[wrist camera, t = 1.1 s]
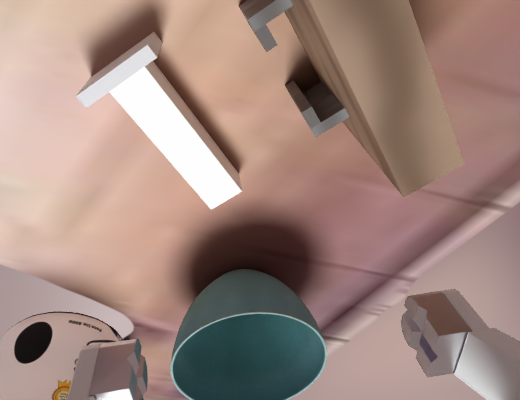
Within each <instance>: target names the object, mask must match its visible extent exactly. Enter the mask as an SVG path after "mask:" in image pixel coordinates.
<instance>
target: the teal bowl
mask: <svg viewBox="0 0 520 400" xmlns="http://www.w3.org/2000/svg"><path fill="white" fill-rule="evenodd" d="M326 360H327V348H326V344H325V341H324V338H323V336H322V334H321V331H320V329H319V327H318V325H317V323H316V321H315V319H314V318H313V316H312V315H311V313H310V311H309V310H308V308H307V307H306V306H305V304H304V303H303V302H302V301H301V299H300V298H299V297H298V296H297V295H296V294H295V293H294V292H293V291H292V290H291V289H290V288H289V287H288V286H286V285H285V284H284V283H282V282H281V281H279V280H278V279H276V278H274V277H272V276H270V275H268V274H266V273H263V272H260V271H257V270H252V269H238V270H233V271H230V272H228V273H225V274H223V275H222V276H220V277H219V278H217V279H216V280H214V281H213V282H212V283H210V284H209V285H208V286H207V287H206V288H205V289H204V290H203V291H202V292H201V293H200V294H199V295H198V296H197V298H196V299H195V300H194V302H193V303H192V305H191V306H190V308H189V310H188V311H187V313H186V315H185V317H184V319H183V321H182V324H181V326H180V329H179V331H178V334H177V337H176V341H175V345H174V349H173V353H172V360H171V369H170V371H171V377H172V380H173V382H174V384H175V386H176V388H177V389H178V390H179V391H180V392H181V393H182V394H183V395H184V396H185V397H187V398H188V399H190V400H288V399H291V398H292V397H294V396H296V395H298V394H300V393H301V392H303V391H304V390H306V389H307V388H308V387H309V386H311V385H312V383H314V382H315V381H316V379H317V378H318V377H319V376H320V374H321V373H322V371H323V369H324V367H325V364H326Z"/></svg>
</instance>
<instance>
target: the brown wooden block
mask: <svg viewBox="0 0 520 400" xmlns="http://www.w3.org/2000/svg"><path fill="white" fill-rule="evenodd" d="M239 7H240V9H241V11H242V12H243V14H244V16H245V18H246V19H247V21H248V23H249V25H250V26H251V28H252V30H253V31H254V33H255V35H256V36H257V38H258V39H259V41H260V43H261V44H262V46H263V47H264V49H265V50H266V52H268V51H269V50H271V49H272V48H274V47H275V46H277V43H276V41H275V40H274V38H273V36H272V34H271V32H270V31H269V29H268V27H267V25H266V24H267V23H268V22H269V21H271V20H272V19H274V18H275V17H277V16H278V15H280V14H281V13H283V12H284V11H285V13H286V15H287V17H288V19H289V21H290V23H291V25H292V27H293V29H294V31H295V32H296V34H297V36H298V38H299V40H300V42H301V44H302V46H303V48H304V50H305V52H306V54H307V55H308V57H309V59H310V61H311V63H312V65H313V67H314V69H315V71H316V73H317V75H318V77H319V79H320V80H321V82H320V83H318V84H317V85H315V86H313V87H312V88H310V89H309V90H307V91H306V92H304V93H302V92H301V90H300V89H299V88H298V86H297V85H296V83H295V82H294V80H292V81H291V82H289V83H288V84H286V85H285V86H286V88H287V90H288V92H289V93H290V95H291V97H292V99H293V100H294V102H295V104H296V105H297V107H298V109H299V110H300V112H301V114H302V115H303V117H304V119H305V120H306V122H307V123H308V125H309V127H310V128H311V130H312V132H313V133H314V135H315V137H317V136H319V135H320V134H322V133H324V132H325V131H327V130H329V129H330V128H332V127H334V126H335V125H337V124H339V123H340V122H343V123H344V124H345V126H346V127H347V128H348V129H349V131H350V132H351V133H352V134H353V135H354V137H355V138H356V139H357V140H358V142H359V143H360V144H361V145H362V147H363V148H364V149H365V150H366V151H367V153H368V154H369V155H370V156H371V158H372V159H373V160H374V161H375V163H376V164H377V165H378V166H379V167H380V169H381V170H382V171H383V172H384V174H385V175H386V176H387V177H388V178H389V180H390V181H391V182H392V183H393V185H394V186H395V187H396V188H397V190H398V191H399V192H400V193H401V194H402V196H403V197H405V196H407V195H409V194H411V193H412V192H414V191H416V190H418V189H420V188H422V187H423V186H425V185H427V184H429V183H431V182H433V181H434V180H436V179H438V178H440V177H442V176H444V175H445V174H447V173H449V172H451V171H453V170H455V169H456V168H458V167H460V166H462V165H464V161H463V158H462V155H461V152H460V149H459V146H458V143H457V140H456V137H455V134H454V132H453V129H452V126H451V123H450V120H449V117H448V114H447V111H446V108H445V105H444V102H443V99H442V96H441V93H440V90H439V88H438V85H437V82H436V79H435V76H434V73H433V70H432V67H431V64H430V61H429V58H428V55H427V52H426V49H425V46H424V44H423V41H422V38H421V35H420V32H419V29H418V26H417V23H416V20H415V17H414V14H413V11H412V8H411V5H410V3H409V0H246V1H245V2H243V3H242V4H241V5H239Z"/></svg>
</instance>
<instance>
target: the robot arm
mask: <svg viewBox="0 0 520 400" xmlns="http://www.w3.org/2000/svg"><path fill="white" fill-rule="evenodd" d="M405 307H406V309H407V311H406V312H405V313H404V314H403V315H402V320H401V326H402V332H403V335H404V337H405V340H406V342H407V343H408V345H409V346H410V347H412V348H413V349H415V350H417V356H416V359H417V361H418V362H419V364H420V366H421V367H422V369H423V371H424V373H425V374H426V376H427V377H432V376H439V375H445V374H451V373H454V375H455V376H457V377H458V378H459V379H460V380H462V381H463V382H464V383H466V384H467V385H468V386H470V387H471V388H472V389H474V390H475V391H476V392H478V393H479V394H480V395H481V396H483V397H484V398H485V399H487V400H520V341H518V340H516V339H515V338H513V337H511V336H509V335H507V334H505V333H503V332H501V331H499V330H497V329H495V328H489V327H488V326H487V325H486V323H485V322H484V321H483V320H482V319H481V317H480V316H479V315H478V314H477V313H476V312H475V311H474V309H473V308H472V307H471V306H470V304H469V303H468V302H467V301H466V300H465V298H464V297H463V296H462V295H461V294H460V293H459V291H457V290H456V289H450V290H444V291H438V292H437V291H436V292H430V293H424V294H418V295H412V296H408V297H407V298H406V300H405ZM140 354H141V345H140V342H139V339H132V340H125V341H117V342H109V343H102V344H96V345H88V346H83V348H82V349H81V351H80V353H79V356H78V360H77V364H76V367H75V371H74V375H73V378H72V382H71V386H70V389H69V393H68V397H67V400H144V399H143V395H144V393H145V392H146V391H147V366H146V361H145V357H144V356H142V355H140Z"/></svg>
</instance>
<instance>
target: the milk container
mask: <svg viewBox="0 0 520 400" xmlns="http://www.w3.org/2000/svg"><path fill="white" fill-rule="evenodd" d="M117 341H123V339H122V338H121V336H120V335H119V334H118V333H117V331H116V330H115V329H114V328H112V327H111V326H109V325H108V324H106V323H104V322H103V321H101V320H99V319H96V318H94V317H91V316H87V315H84V314H80V313H73V312H48V313H43V314H38V315H33V316H31V317H28V318H26V319H24V320H22V321H20V322H18V323H17V324H15V325H14V326H13V327H11V328H10V329H9V330H8V331H7V332H6V333H5V334H4V335H3V337H2V338H1V339H0V400H67V397H68V393H69V389H70V386H71V382H72V378H73V375H74V371H75V367H76V364H77V360H78V356H79V353H80V351H81V349H82V348H83V346H88V345H96V344H102V343H109V342H117Z"/></svg>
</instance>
